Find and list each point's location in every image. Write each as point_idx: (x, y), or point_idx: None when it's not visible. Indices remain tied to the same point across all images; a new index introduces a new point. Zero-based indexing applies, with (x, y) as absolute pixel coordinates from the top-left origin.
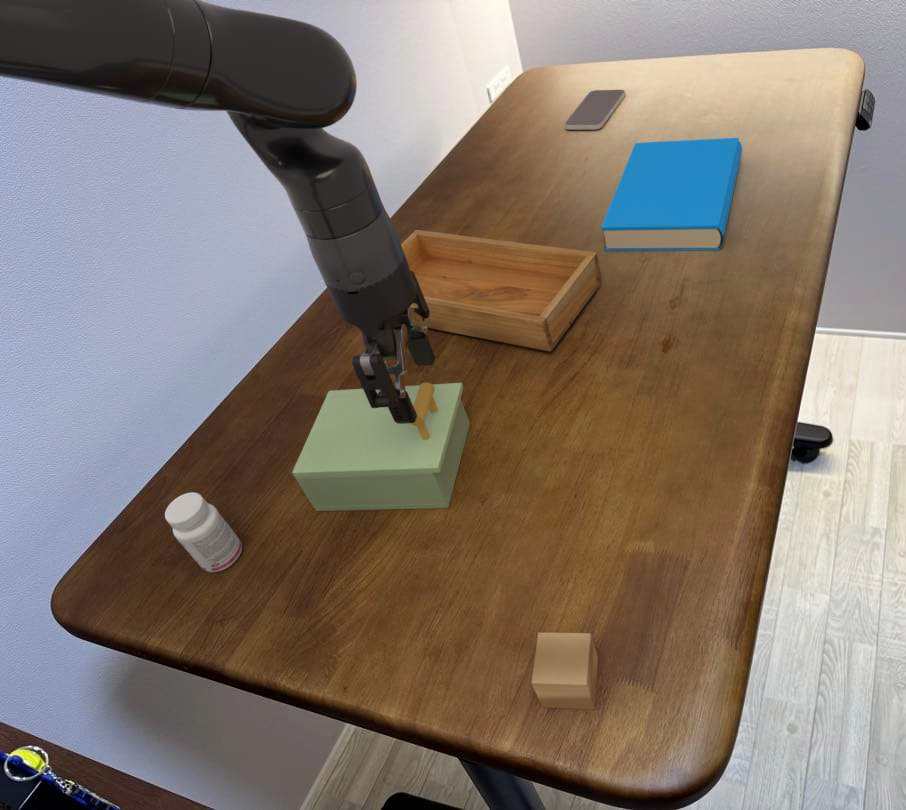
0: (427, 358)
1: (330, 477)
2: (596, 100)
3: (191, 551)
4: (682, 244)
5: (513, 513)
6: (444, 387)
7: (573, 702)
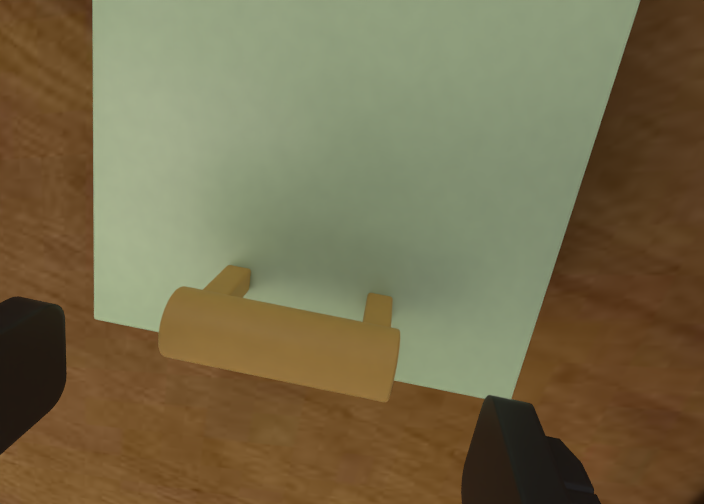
0: (471, 498)
1: None
2: None
3: None
4: None
5: (162, 376)
6: (504, 342)
7: None
